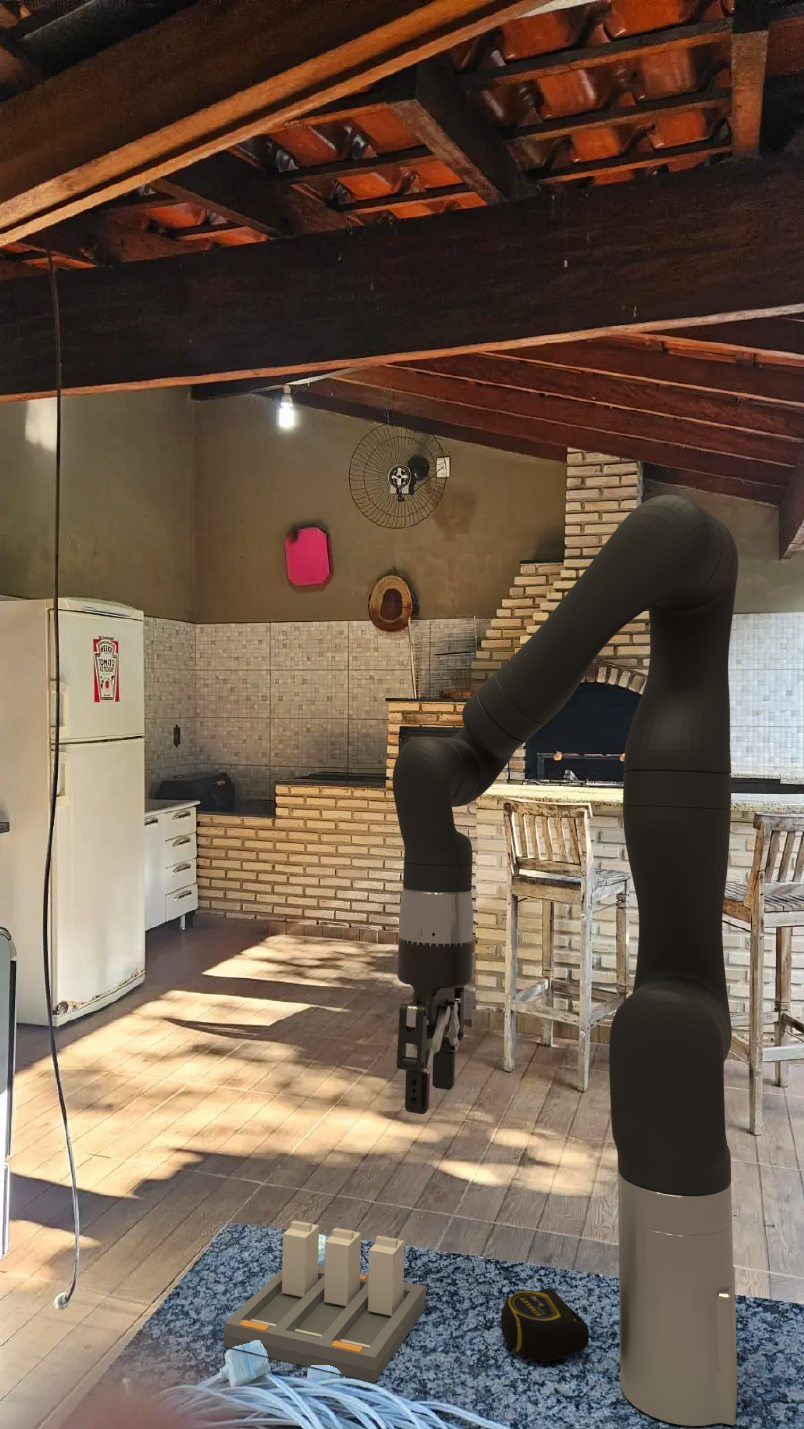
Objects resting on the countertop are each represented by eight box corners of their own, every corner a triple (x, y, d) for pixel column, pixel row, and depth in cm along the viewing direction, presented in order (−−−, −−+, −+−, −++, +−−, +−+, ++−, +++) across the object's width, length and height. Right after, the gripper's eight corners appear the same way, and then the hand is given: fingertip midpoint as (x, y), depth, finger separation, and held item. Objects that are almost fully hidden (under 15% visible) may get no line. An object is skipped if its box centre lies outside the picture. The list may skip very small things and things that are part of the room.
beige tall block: (403, 1300, 91) (404, 1234, 91) (392, 1315, 88) (392, 1247, 88) (380, 1295, 91) (380, 1229, 92) (368, 1310, 89) (368, 1242, 89)
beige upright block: (360, 1291, 92) (361, 1226, 93) (347, 1306, 89) (348, 1239, 90) (337, 1286, 93) (338, 1222, 94) (324, 1301, 90) (325, 1234, 91)
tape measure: (592, 1363, 83) (592, 1317, 84) (521, 1376, 81) (521, 1329, 81) (556, 1323, 90) (556, 1281, 90) (489, 1334, 88) (489, 1291, 88)
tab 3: (317, 1282, 94) (319, 1219, 94) (304, 1297, 91) (305, 1231, 92) (296, 1278, 95) (297, 1215, 95) (281, 1292, 92) (283, 1227, 92)
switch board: (425, 1307, 92) (426, 1284, 92) (374, 1382, 80) (374, 1355, 80) (291, 1280, 97) (291, 1258, 97) (223, 1346, 85) (224, 1321, 85)
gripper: (450, 947, 89) (445, 1127, 87) (489, 929, 102) (485, 1085, 101) (375, 940, 91) (369, 1115, 90) (423, 924, 105) (418, 1076, 103)
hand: (430, 1099), depth 95 cm, fingers open, 8 cm apart
